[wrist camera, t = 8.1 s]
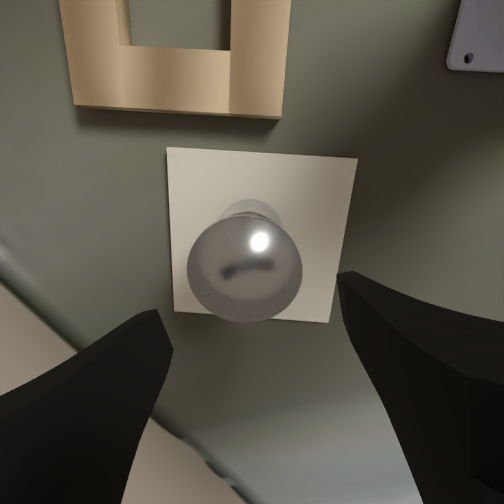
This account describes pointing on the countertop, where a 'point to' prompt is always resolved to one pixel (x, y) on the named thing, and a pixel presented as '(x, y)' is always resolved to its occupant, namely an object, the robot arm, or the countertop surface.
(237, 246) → the end cap
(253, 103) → the wooden square frame
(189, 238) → the trivet
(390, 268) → the countertop surface
